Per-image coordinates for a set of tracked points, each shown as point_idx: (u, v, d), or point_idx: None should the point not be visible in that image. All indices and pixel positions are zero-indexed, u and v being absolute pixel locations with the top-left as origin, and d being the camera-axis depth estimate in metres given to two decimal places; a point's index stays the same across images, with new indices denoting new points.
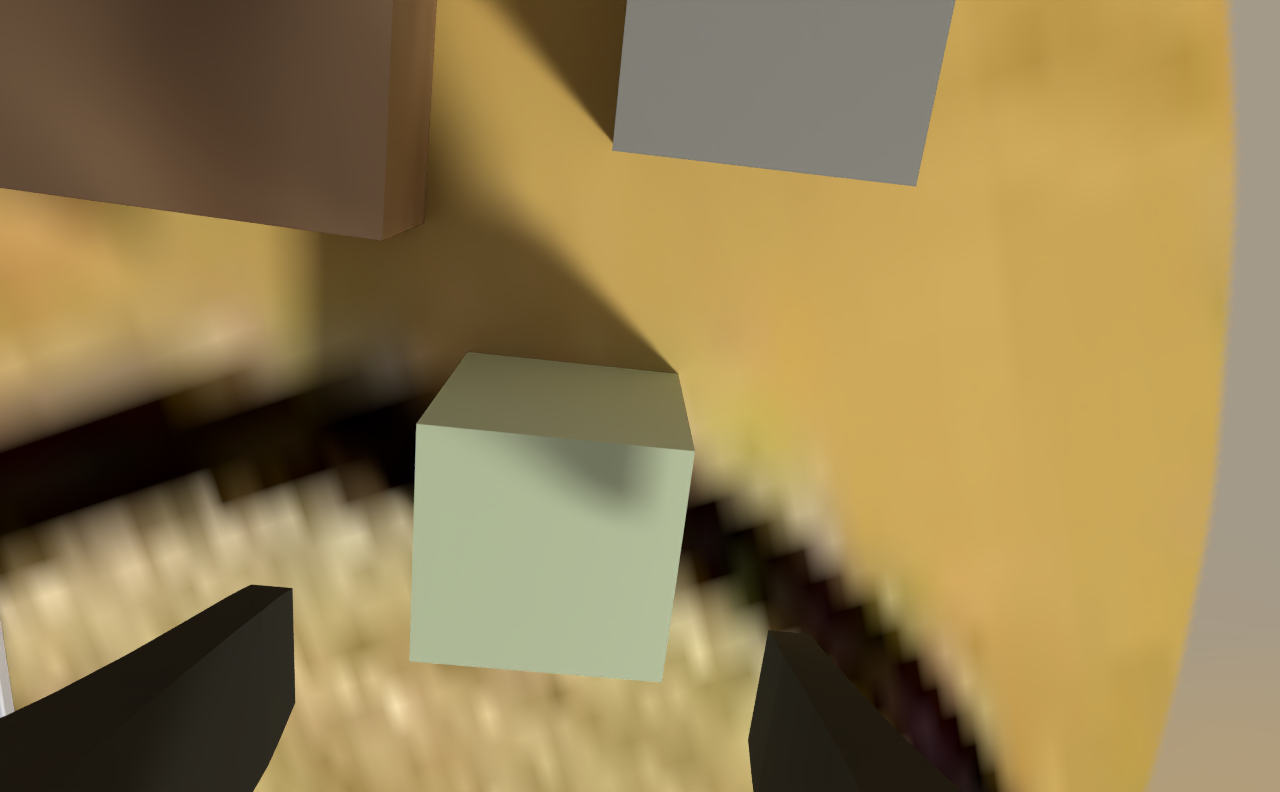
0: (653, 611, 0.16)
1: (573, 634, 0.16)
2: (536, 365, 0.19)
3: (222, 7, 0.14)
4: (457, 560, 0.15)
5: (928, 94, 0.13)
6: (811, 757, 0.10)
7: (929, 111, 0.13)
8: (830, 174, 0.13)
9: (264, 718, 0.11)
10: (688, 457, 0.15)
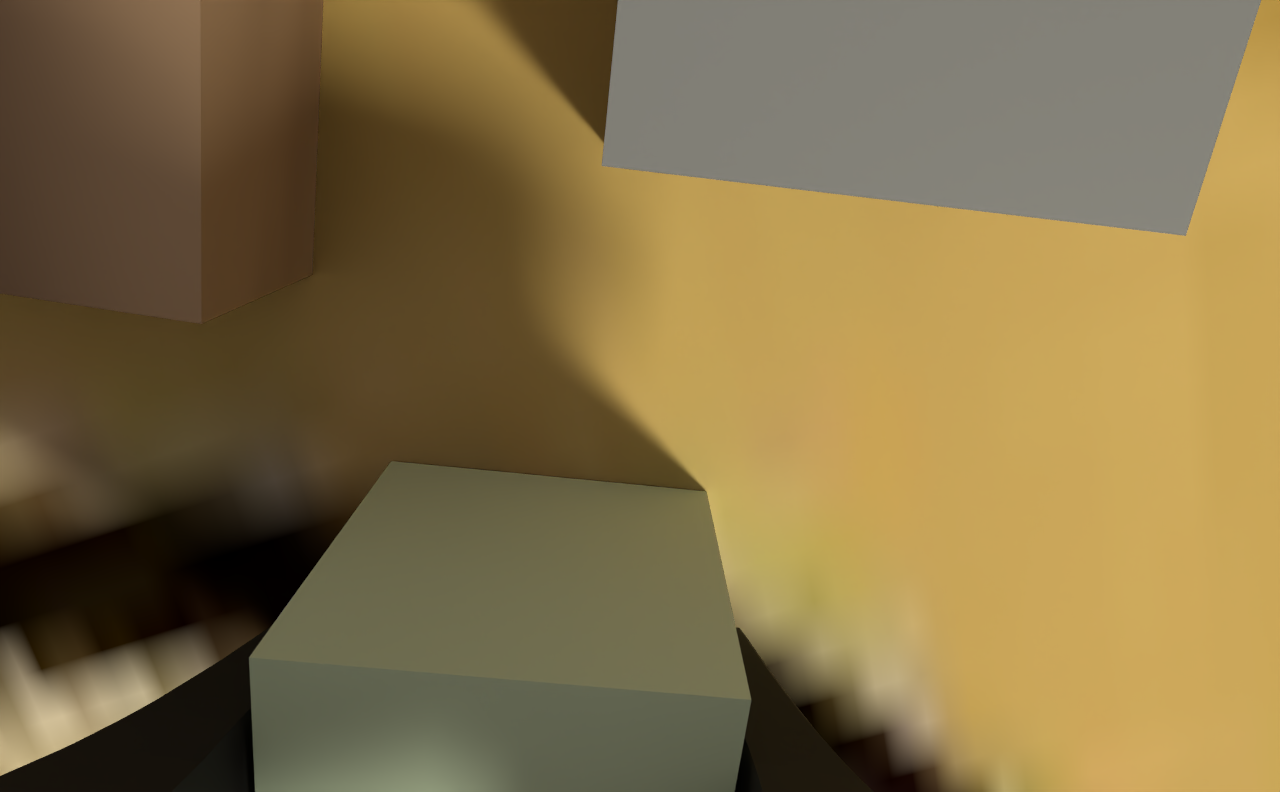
0: None
1: None
2: (492, 487, 0.12)
3: None
4: None
5: (1230, 56, 0.06)
6: None
7: (1227, 89, 0.07)
8: (1023, 212, 0.07)
9: None
10: (739, 709, 0.08)
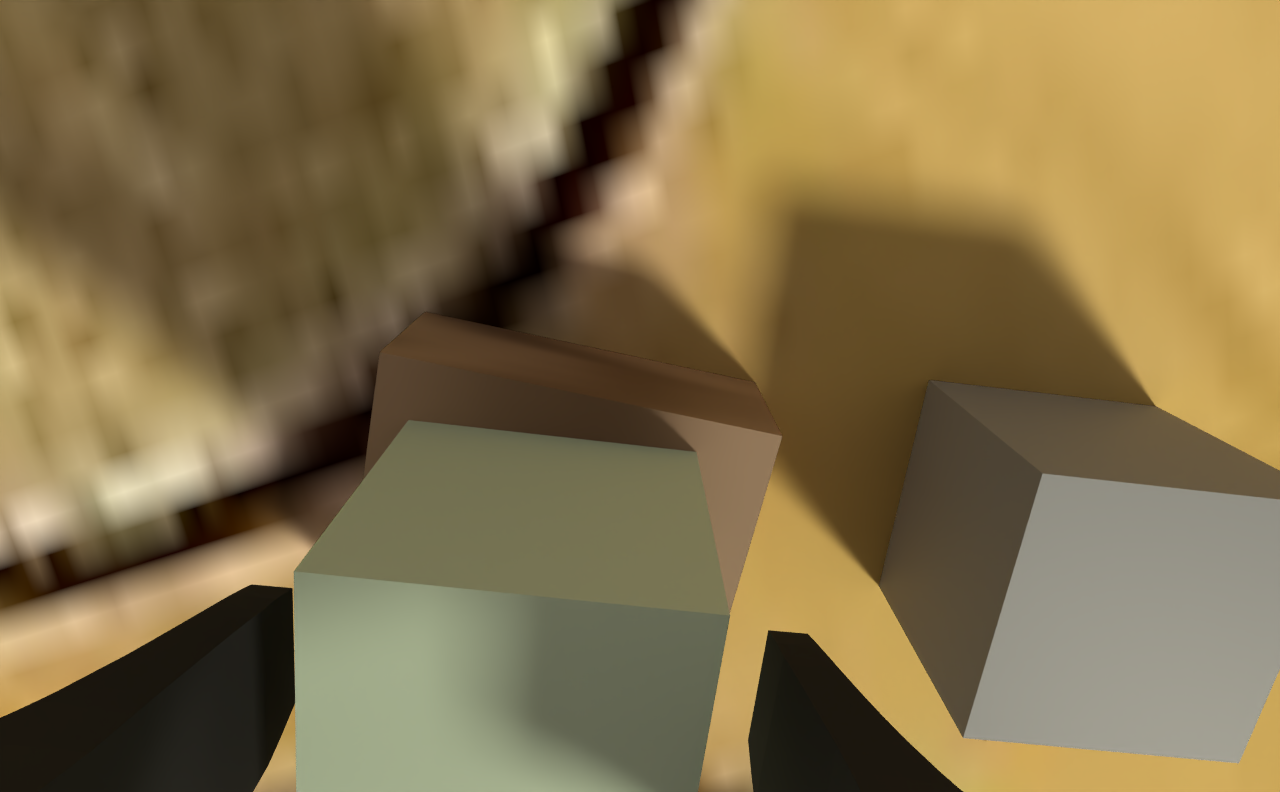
0: None
1: None
2: (500, 443, 0.13)
3: None
4: (364, 765, 0.10)
5: (1262, 697, 0.14)
6: (811, 757, 0.10)
7: (1259, 705, 0.14)
8: (1161, 753, 0.14)
9: (264, 718, 0.11)
10: (719, 623, 0.09)
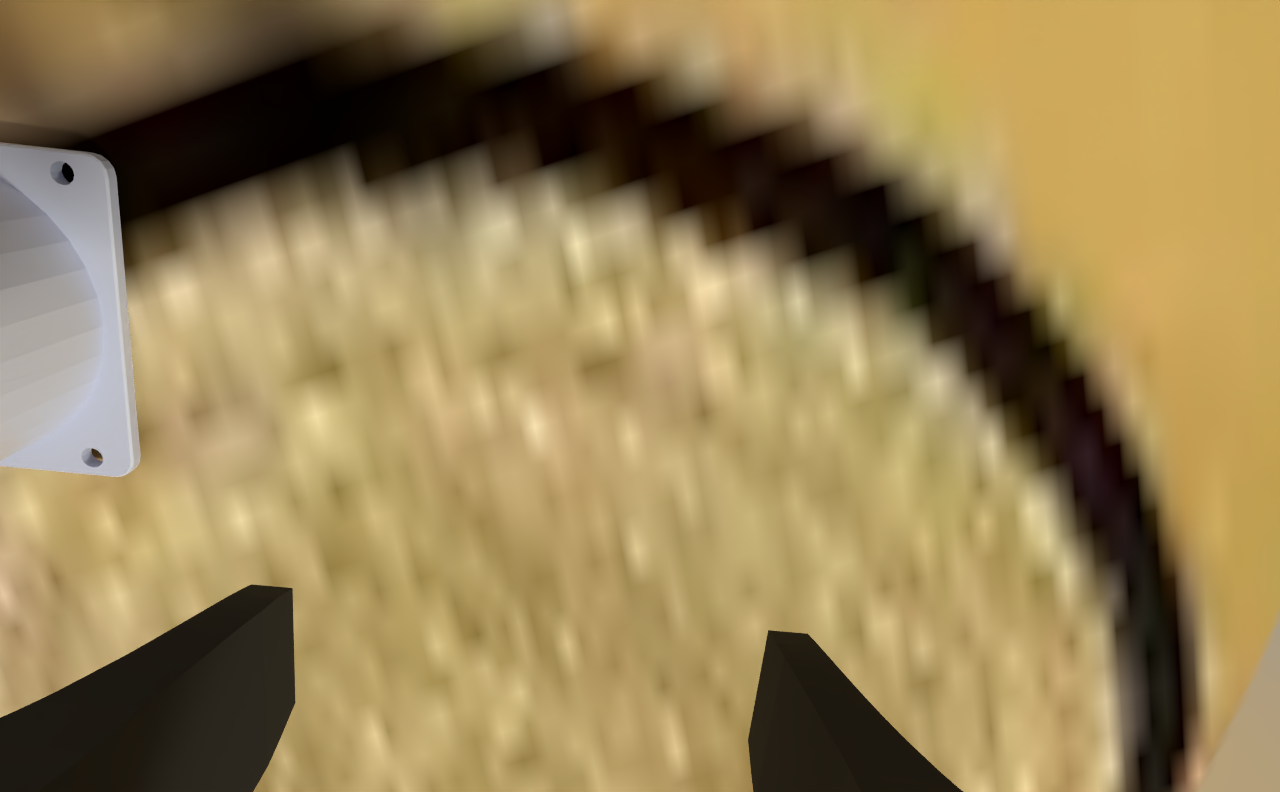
0: None
1: None
2: None
3: None
4: None
5: None
6: (811, 757, 0.10)
7: None
8: None
9: (264, 718, 0.11)
10: None
